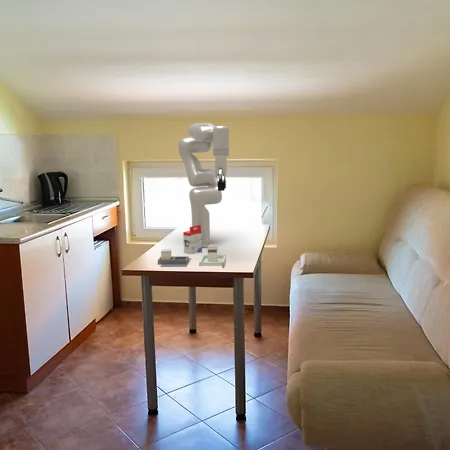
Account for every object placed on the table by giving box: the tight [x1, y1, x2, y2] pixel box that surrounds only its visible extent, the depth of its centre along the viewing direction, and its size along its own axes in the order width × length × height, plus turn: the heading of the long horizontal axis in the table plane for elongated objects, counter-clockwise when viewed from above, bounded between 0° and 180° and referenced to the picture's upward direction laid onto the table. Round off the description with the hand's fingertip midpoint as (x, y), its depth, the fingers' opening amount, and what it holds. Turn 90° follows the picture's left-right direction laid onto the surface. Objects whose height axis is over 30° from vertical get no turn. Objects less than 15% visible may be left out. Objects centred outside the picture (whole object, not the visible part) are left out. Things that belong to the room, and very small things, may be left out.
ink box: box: [182, 225, 203, 255], centre depth 248 cm, size 8×5×15 cm, turn 141°
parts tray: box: [198, 254, 227, 269], centre depth 228 cm, size 14×11×2 cm
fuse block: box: [157, 248, 192, 268], centre depth 228 cm, size 16×14×7 cm
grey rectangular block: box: [207, 244, 219, 262], centre depth 228 cm, size 4×4×8 cm
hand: (221, 189), depth 233 cm, fingers open, 9 cm apart
